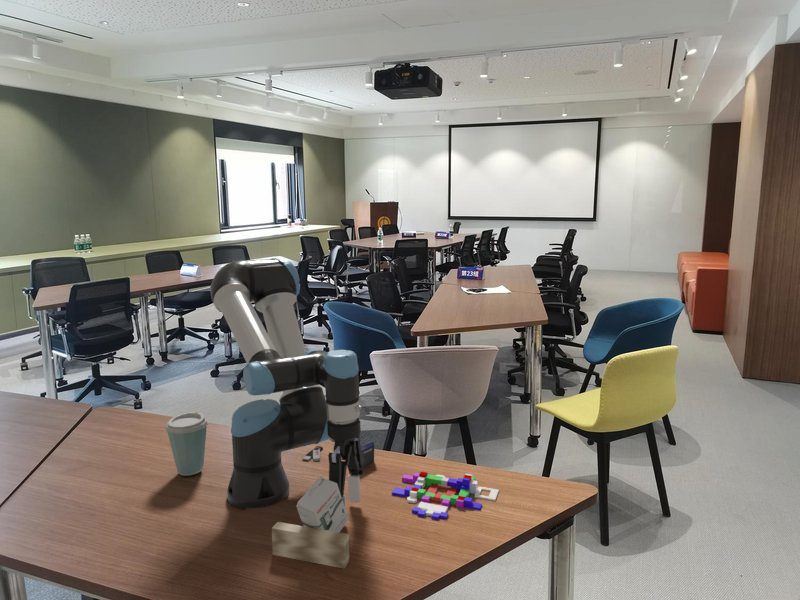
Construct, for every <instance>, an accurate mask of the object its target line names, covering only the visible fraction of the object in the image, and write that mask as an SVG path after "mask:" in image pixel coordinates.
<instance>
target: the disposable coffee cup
mask: <svg viewBox="0 0 800 600" xmlns="http://www.w3.org/2000/svg"><path fill="white" fill-rule="evenodd" d="M207 425H208V420H207V418H206V417H205V414H204V413H203V412H202V413H201V412H198V411H189V412H184V413H180V414H178V415H175V416H172V417H171V418H170V419H169V420H168V421H167V423H166V424H165V431H166V432H167V435H168V439H169V443H170V447H171V451H172V456H173V459H174V462H175V467H176V471H177V473H178V474H179V475H181V476H183V477H184V476H193V475H196V474H199V473H200V472H201V471H202V470H203V467H204V463H205V453H206V452H205V451H206V439H207V438H206V437H207Z"/></svg>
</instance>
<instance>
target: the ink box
mask: <svg viewBox="0 0 800 600" xmlns="http://www.w3.org/2000/svg"><path fill="white" fill-rule="evenodd" d="M296 509H297V512H298V515H299V517H300V521H301V523H302V526H305V527H311V528H316V529H322V530H328V531H333V532H339V533H341V532H342V530H343V528H344V527H345V526H346V524H347V523H348V522H349V516H348V513H346V512H347V509H346V510H345V507H344V503H343V500H342V497H341V494H340V491H339V488H338V485H337V483H335V482H333V481H330V480H329V479H327V478H325V477H321V476H320V477H318V478H317V479H316V481H314V483H312V485H311V487H310V488H308V490H307V491H305V493H303V495H302V497H300V499H299V500H298V501H297V504H296Z"/></svg>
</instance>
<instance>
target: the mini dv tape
mask: <svg viewBox="0 0 800 600" xmlns="http://www.w3.org/2000/svg"><path fill="white" fill-rule="evenodd" d="M360 448H361V456H362V464H363V468H365V467H367V466H369V465H371V464H373V463H374V462H375V443H374V441H372V440H369V441H367V442H364V443H362V444H360ZM358 463H359V462H358Z"/></svg>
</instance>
